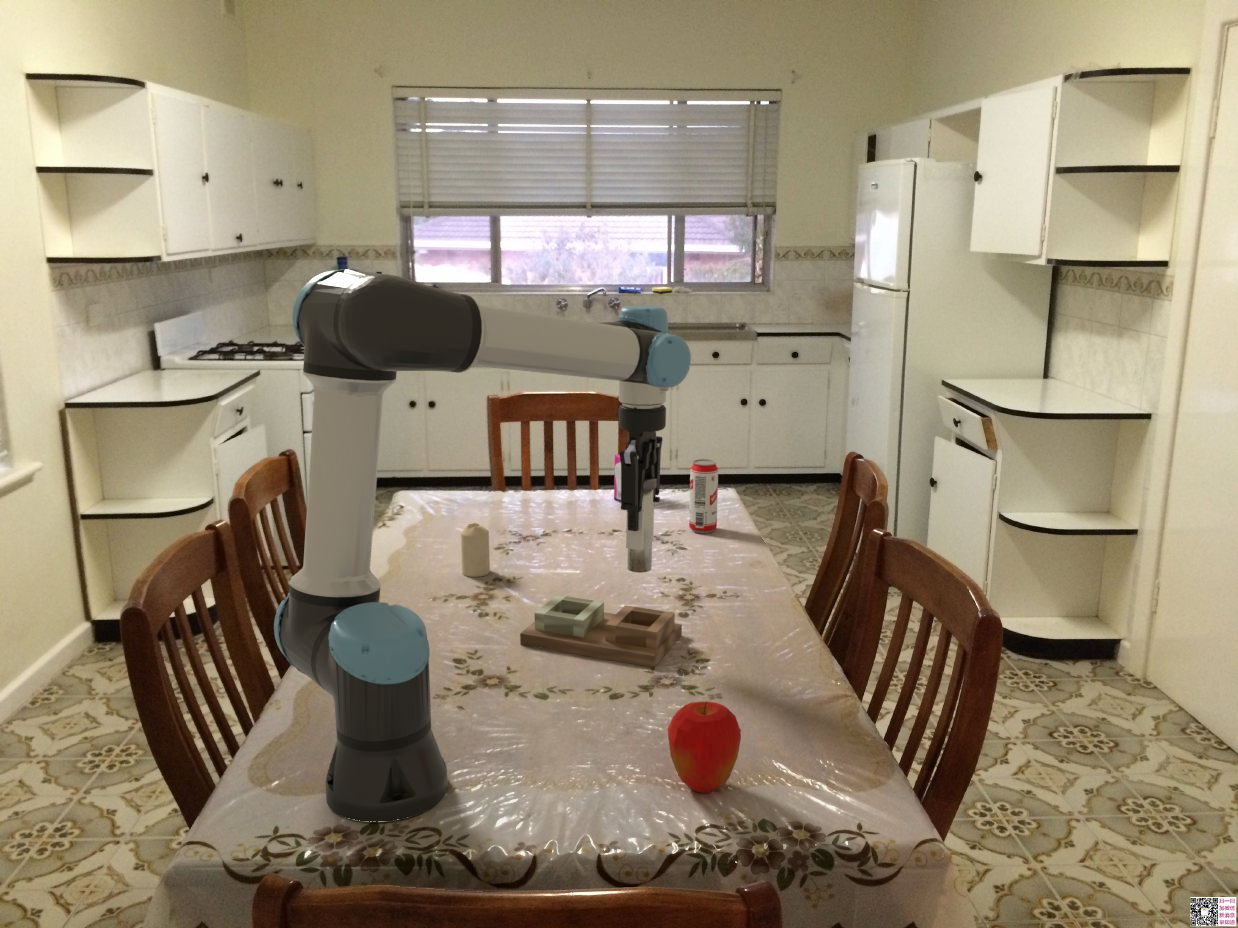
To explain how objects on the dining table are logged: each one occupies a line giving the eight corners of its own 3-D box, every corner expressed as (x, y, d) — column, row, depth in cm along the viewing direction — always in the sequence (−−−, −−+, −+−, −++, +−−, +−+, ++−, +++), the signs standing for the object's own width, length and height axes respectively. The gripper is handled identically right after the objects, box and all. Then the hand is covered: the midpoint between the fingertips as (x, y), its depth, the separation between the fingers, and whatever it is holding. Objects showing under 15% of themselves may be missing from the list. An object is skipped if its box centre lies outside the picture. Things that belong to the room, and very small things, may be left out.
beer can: (686, 532, 239) (687, 464, 235) (692, 524, 245) (693, 457, 241) (713, 535, 237) (715, 466, 233) (719, 527, 243) (721, 459, 239)
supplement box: (645, 501, 264) (645, 456, 261) (624, 504, 261) (625, 459, 258) (633, 495, 268) (633, 451, 266) (613, 499, 266) (613, 454, 263)
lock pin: (648, 575, 172) (650, 484, 168) (619, 570, 174) (621, 481, 170) (658, 565, 177) (660, 477, 173) (630, 561, 178) (632, 474, 175)
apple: (735, 767, 141) (738, 684, 138) (742, 805, 132) (745, 718, 129) (665, 766, 141) (667, 683, 138) (667, 804, 132) (669, 717, 129)
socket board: (653, 667, 171) (654, 638, 169) (520, 644, 179) (519, 616, 178) (681, 635, 183) (682, 608, 182) (555, 614, 192) (555, 588, 191)
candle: (492, 575, 212) (491, 527, 209) (465, 578, 210) (464, 530, 207) (485, 566, 217) (484, 519, 214) (459, 569, 215) (457, 522, 212)
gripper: (646, 415, 160) (643, 562, 165) (681, 397, 175) (678, 532, 181) (600, 411, 162) (598, 556, 168) (639, 393, 178) (636, 527, 183)
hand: (639, 544), depth 174 cm, fingers closed on lock pin, 4 cm apart
